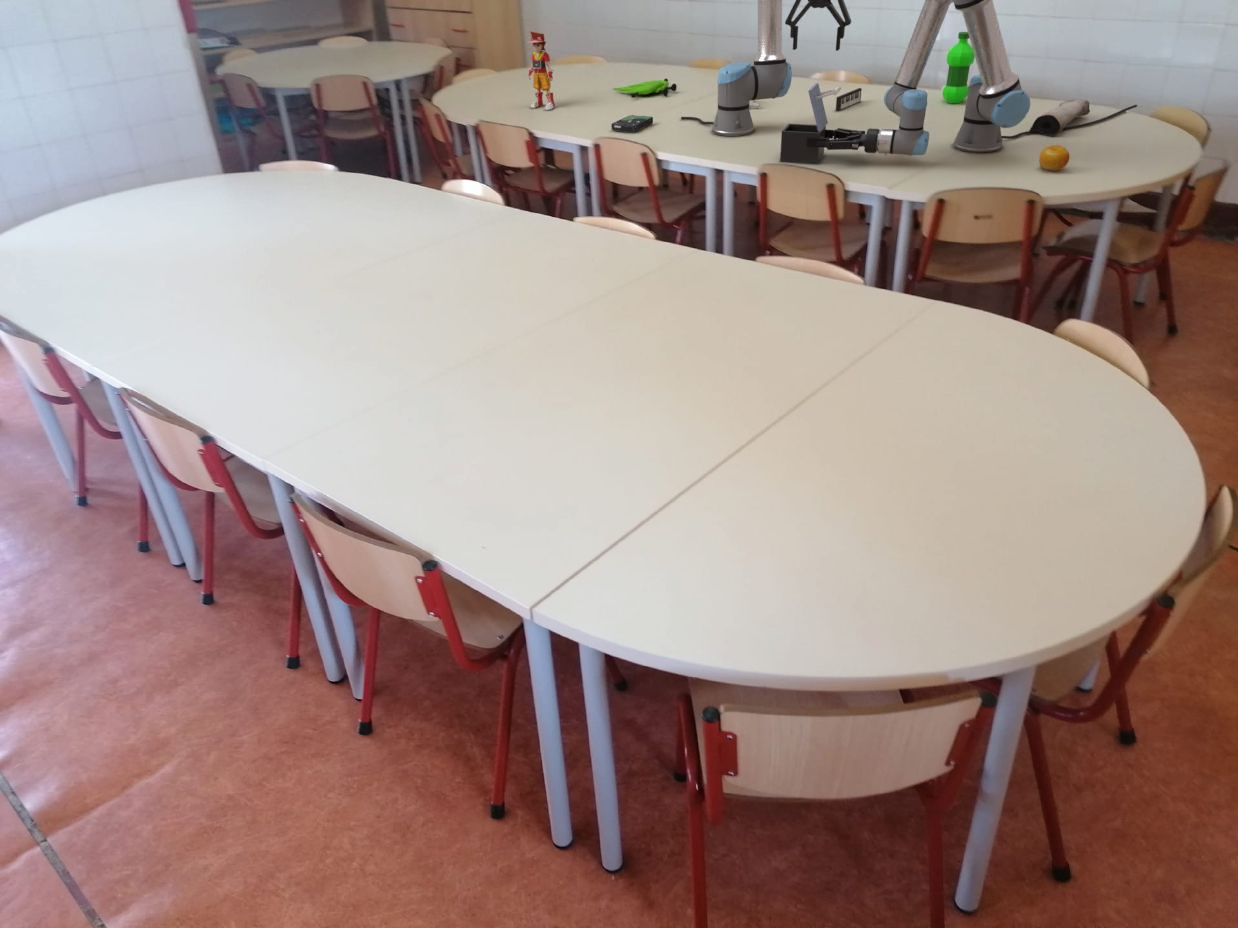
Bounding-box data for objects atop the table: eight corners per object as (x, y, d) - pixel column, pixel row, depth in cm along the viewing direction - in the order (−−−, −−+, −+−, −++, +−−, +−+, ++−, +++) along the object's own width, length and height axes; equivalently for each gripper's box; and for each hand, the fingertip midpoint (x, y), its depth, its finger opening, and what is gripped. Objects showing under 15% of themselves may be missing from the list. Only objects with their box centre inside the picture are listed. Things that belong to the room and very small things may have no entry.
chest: (780, 161, 303) (781, 131, 297) (786, 153, 310) (788, 123, 304) (817, 164, 298) (819, 133, 293) (823, 155, 306) (826, 125, 300)
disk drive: (634, 134, 341) (653, 123, 351) (633, 126, 339) (653, 116, 349) (611, 131, 346) (631, 121, 356) (610, 123, 344) (630, 114, 354)
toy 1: (525, 109, 381) (517, 32, 364) (534, 104, 388) (527, 28, 371) (550, 110, 377) (543, 32, 360) (559, 105, 384) (553, 28, 367)
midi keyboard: (838, 111, 353) (839, 97, 350) (835, 110, 353) (836, 97, 350) (860, 101, 363) (861, 88, 360) (857, 101, 364) (859, 88, 361)
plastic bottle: (973, 101, 354) (984, 32, 339) (955, 106, 349) (966, 36, 335) (952, 97, 361) (962, 29, 346) (934, 102, 356) (944, 33, 342)
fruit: (1034, 160, 277) (1052, 137, 274) (1032, 163, 285) (1050, 140, 282) (1057, 176, 276) (1076, 152, 273) (1055, 178, 284) (1073, 155, 281)
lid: (808, 91, 287) (833, 83, 283) (814, 84, 294) (839, 76, 290) (818, 132, 293) (843, 124, 288) (824, 124, 300) (849, 116, 296)
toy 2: (686, 85, 398) (631, 84, 414) (685, 72, 395) (629, 72, 411) (651, 104, 381) (596, 103, 397) (650, 92, 378) (594, 91, 394)
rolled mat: (1057, 104, 331) (1081, 87, 323) (1070, 125, 332) (1095, 108, 324) (1024, 126, 314) (1049, 109, 306) (1039, 148, 314) (1064, 131, 306)
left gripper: (777, -24, 273) (774, 51, 285) (860, -25, 265) (853, 52, 277) (783, -28, 279) (780, 46, 291) (865, -29, 270) (858, 48, 283)
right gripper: (871, 163, 285) (802, 158, 293) (882, 143, 302) (816, 140, 310) (874, 138, 281) (803, 135, 289) (885, 120, 298) (818, 117, 306)
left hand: (816, 49), depth 284 cm, fingers open, 13 cm apart
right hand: (810, 137), depth 299 cm, fingers closed on chest, 10 cm apart
